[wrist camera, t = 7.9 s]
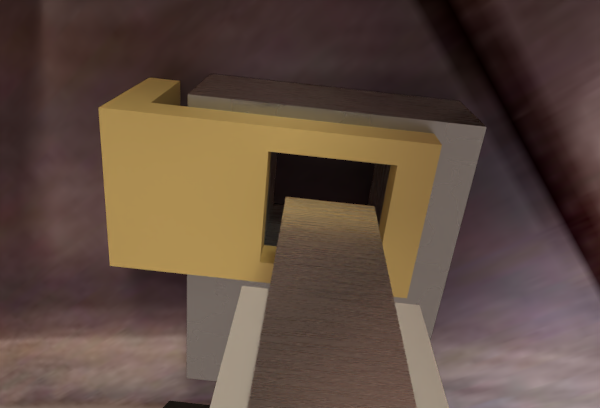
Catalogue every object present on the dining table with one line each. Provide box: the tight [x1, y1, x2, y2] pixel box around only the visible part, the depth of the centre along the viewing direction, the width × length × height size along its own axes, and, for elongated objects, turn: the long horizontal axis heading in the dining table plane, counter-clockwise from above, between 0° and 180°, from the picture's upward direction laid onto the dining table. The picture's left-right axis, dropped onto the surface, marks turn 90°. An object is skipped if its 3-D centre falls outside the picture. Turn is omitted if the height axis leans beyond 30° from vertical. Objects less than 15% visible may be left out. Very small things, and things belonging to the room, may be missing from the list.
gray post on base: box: [187, 74, 487, 381], centre depth 19 cm, size 15×12×18 cm
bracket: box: [98, 78, 442, 298], centre depth 23 cm, size 7×13×6 cm, turn 84°
